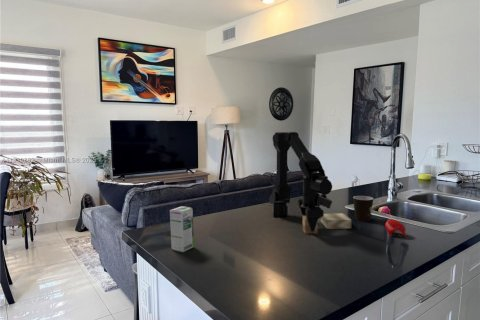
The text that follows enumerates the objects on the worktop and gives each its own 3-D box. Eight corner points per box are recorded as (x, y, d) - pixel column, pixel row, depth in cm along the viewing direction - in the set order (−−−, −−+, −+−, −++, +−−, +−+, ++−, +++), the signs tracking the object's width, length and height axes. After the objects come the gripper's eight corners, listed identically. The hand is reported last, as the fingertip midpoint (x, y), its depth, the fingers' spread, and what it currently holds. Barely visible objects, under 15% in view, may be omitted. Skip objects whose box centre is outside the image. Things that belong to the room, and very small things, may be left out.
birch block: (327, 229, 136) (327, 220, 135) (320, 222, 146) (321, 213, 145) (351, 229, 136) (351, 219, 135) (343, 222, 146) (343, 213, 145)
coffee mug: (363, 223, 142) (364, 200, 141) (348, 218, 150) (349, 197, 149) (381, 219, 148) (382, 197, 147) (366, 215, 155) (367, 194, 154)
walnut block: (305, 233, 130) (305, 219, 129) (302, 229, 135) (302, 215, 134) (317, 233, 130) (317, 218, 129) (314, 229, 135) (314, 215, 134)
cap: (382, 228, 125) (397, 222, 122) (382, 219, 130) (396, 213, 127) (394, 243, 126) (409, 238, 123) (393, 234, 131) (408, 228, 128)
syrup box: (183, 252, 112) (182, 211, 110) (170, 249, 115) (169, 209, 113) (194, 247, 117) (193, 207, 115) (181, 244, 120) (180, 205, 118)
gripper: (337, 194, 121) (336, 235, 123) (323, 185, 140) (323, 220, 142) (307, 194, 121) (307, 235, 123) (298, 185, 140) (297, 221, 142)
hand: (309, 227), depth 132 cm, fingers open, 9 cm apart
